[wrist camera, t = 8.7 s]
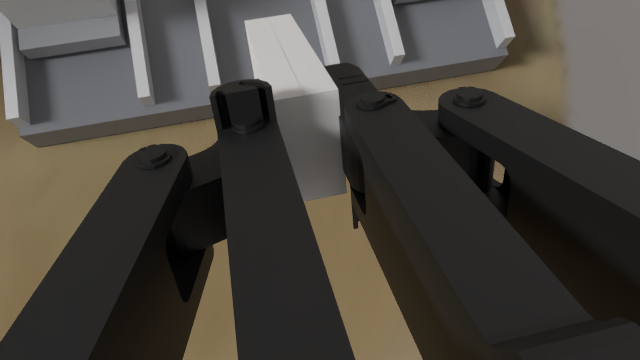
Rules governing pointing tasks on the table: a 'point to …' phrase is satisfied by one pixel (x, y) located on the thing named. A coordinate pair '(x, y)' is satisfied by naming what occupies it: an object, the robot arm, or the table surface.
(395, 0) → the sage knob slider
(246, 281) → the robot arm
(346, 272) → the table surface
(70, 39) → the grey slider
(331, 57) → the grey slotted tray
